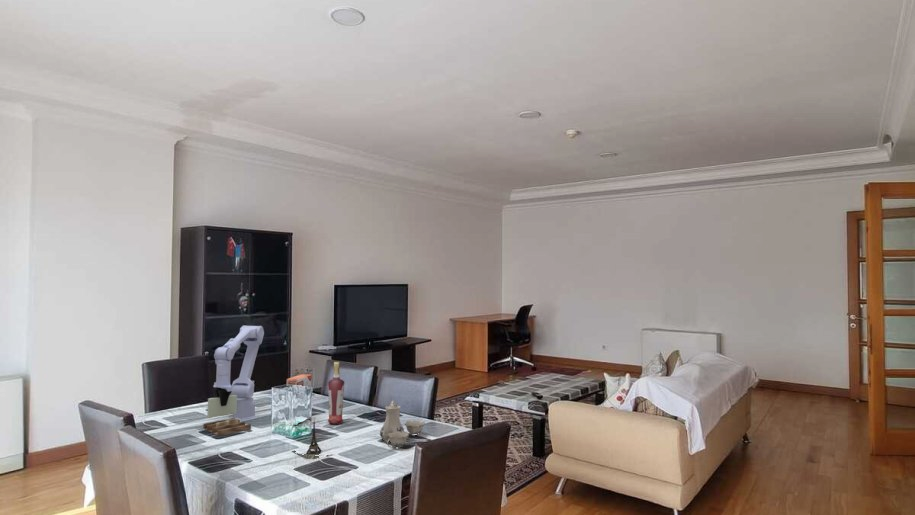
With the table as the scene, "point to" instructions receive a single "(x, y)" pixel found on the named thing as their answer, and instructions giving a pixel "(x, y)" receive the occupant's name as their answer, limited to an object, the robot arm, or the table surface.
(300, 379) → the cracker box
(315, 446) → the eiffel tower figurine
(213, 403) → the pale green slab
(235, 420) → the offcut
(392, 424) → the chinaware
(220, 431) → the rack
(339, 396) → the liquor
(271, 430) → the table surface
